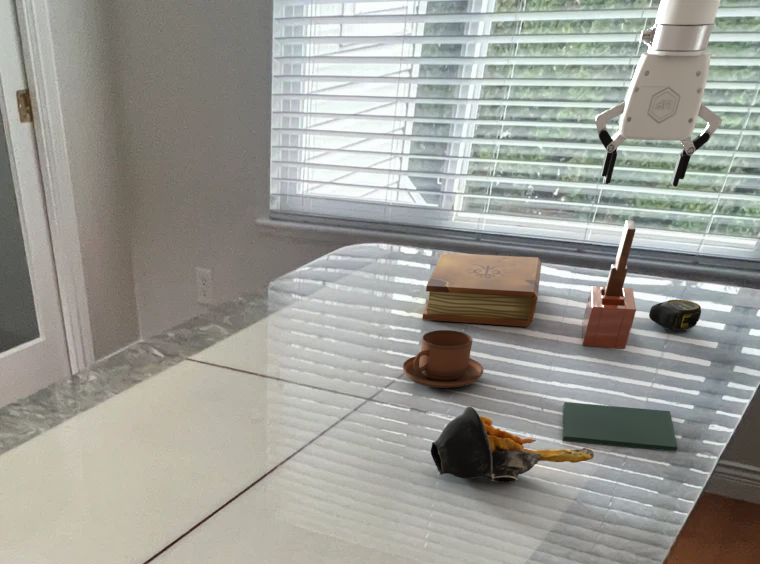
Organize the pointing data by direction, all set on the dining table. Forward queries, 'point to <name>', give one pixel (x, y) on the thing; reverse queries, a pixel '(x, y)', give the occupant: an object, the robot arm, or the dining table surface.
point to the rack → (608, 318)
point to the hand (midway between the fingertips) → (640, 183)
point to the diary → (483, 289)
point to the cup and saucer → (444, 361)
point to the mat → (618, 426)
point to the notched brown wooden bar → (620, 262)
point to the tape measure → (676, 314)
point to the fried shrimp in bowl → (490, 450)
